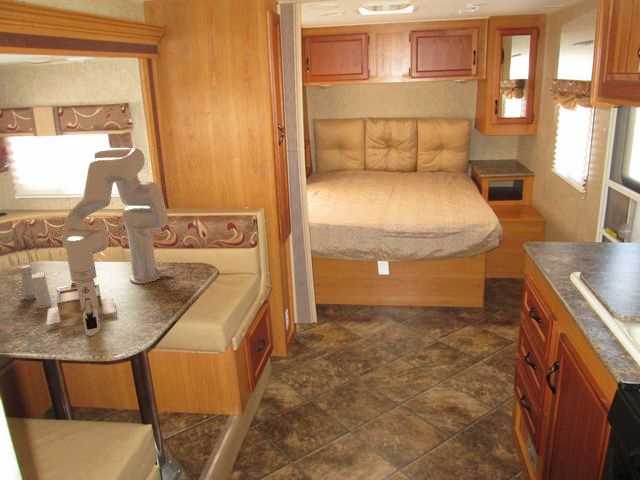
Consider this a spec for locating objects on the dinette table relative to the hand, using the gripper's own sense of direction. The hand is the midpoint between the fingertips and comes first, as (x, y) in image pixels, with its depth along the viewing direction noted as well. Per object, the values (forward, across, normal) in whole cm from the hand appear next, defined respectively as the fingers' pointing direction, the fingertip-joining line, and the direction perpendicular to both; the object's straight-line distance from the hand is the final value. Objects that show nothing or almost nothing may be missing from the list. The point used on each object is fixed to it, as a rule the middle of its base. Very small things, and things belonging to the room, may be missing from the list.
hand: (91, 324), depth 171 cm
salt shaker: (+3, +43, +21) cm, 48 cm away
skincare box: (+3, +33, +16) cm, 37 cm away
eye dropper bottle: (+3, 0, 0) cm, 3 cm away
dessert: (+4, +43, +5) cm, 44 cm away
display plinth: (+3, +16, +3) cm, 17 cm away
